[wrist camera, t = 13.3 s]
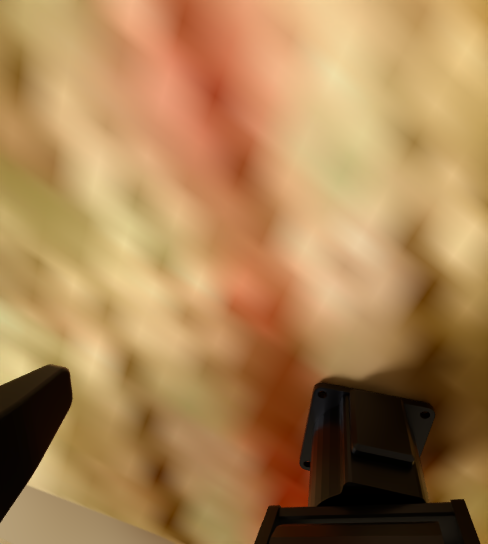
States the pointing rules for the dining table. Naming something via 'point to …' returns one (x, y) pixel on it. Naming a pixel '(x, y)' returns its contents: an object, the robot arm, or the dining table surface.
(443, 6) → the dining table surface
